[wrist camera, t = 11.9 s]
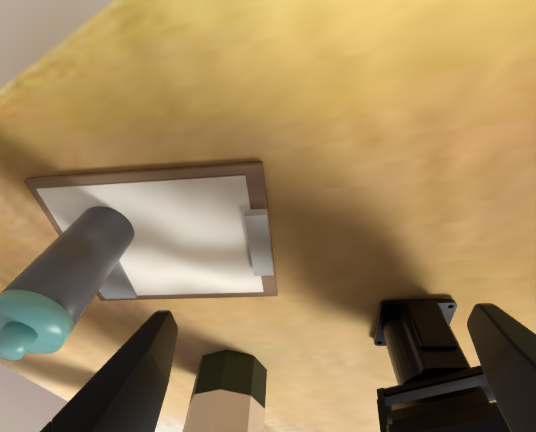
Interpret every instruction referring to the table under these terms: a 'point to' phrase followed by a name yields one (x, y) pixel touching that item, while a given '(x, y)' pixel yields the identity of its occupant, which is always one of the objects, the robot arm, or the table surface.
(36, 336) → the water bottle
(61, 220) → the clipboard
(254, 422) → the wine bottle
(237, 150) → the table surface
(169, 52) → the table surface
